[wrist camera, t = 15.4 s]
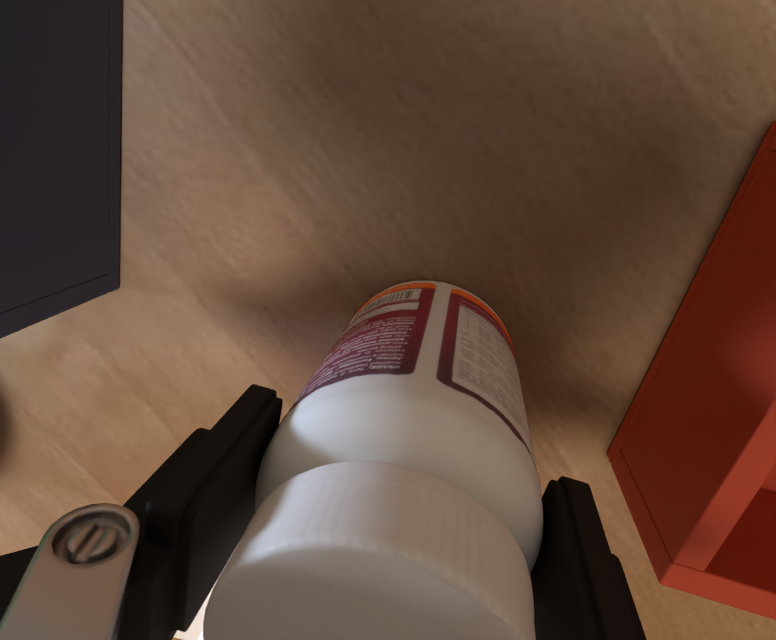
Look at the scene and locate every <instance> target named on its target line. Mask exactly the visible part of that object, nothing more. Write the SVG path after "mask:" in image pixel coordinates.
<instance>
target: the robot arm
mask: <svg viewBox="0 0 776 640" xmlns="http://www.w3.org/2000/svg"><path fill="white" fill-rule="evenodd" d="M276 395H277V394H276V391H275V390H272V389H269V388H265V387H262V386H259V385H255V384H252V385H251V386H250V387H249V388H248V389H247V390H246V391H245V392H244V394H243V395H242V396H241V397H240V398H239V399H238V400H237V401H236V402H235V403H234V405H233V406H232V407H231V408H230V409H229V410H228V411H227V412H226V413H225V414H224V416H223V417H222V418H221V419H220V420H219V421H218V422H217V423H216V424H215V425H214V427H213V428H212V429H211V430H208V429H204V428H198V429H197V430H195V431H194V432H193V433H192V434H191V435H190V436H189V437H188V438H187V439H186V440H185V441H184V442H183V443H182V445H181V446H180V447H179V448H178V449H177V450H176V451H175V452H174V453H173V454H172V455H171V456H170V457H169V458H168V459H167V460H166V461H165V462H164V463H163V464H162V465H161V466H160V467H159V468H158V470H157V471H156V472H155V473H154V474H153V475H152V476H151V477H150V478H149V479H148V480H147V481H146V482H145V483H144V484H143V485H142V486H141V487H140V488H139V489H138V490H137V491H136V492H135V494H134V495H133V496H132V497H131V498H130V499H129V500H128V501H127V502H126V503H125V504H124V505H123V506H120V505H117V504H109V503H101V504H91V505H87V506H84V507H81V508H77V509H75V510H73V511H71V512H69V513H67V514H65V515H63V516H62V517H61V518H59V519H58V520H57V521H56V522H54V523H53V524H52V525H51V526H50V527H49V529H48V530H47V532H46V533H45V534H44V536H43V538H42V540H41V542H40V544H39V546H35V547H31V548H28V549H24V550H20V551H17V552H13V553H9V554H6V555H2V556H0V640H172V639H173V637H174V635H175V634H176V632H177V630H179V631H182V632H186V631H187V630H188V628H189V627H190V625H191V624H192V622H193V620H194V619H195V617H196V615H197V613H198V612H199V610H200V608H201V607H202V605H203V603H204V602H205V600H206V598H207V596H208V595H209V593H210V591H211V590H212V588H213V586H214V584H215V583H216V581H217V579H218V578H219V576H220V574H221V572H222V571H223V569H224V567H225V566H226V564H227V562H228V561H229V559H230V557H231V555H232V554H233V552H234V550H235V549H236V547H237V545H238V543H239V542H240V540H241V538H242V536H243V534H244V532H245V530H246V528H247V526H248V524H249V523H250V521H251V519H252V518H253V516H254V515H255V513H256V508H255V488H256V481H257V476H258V471H259V468H260V464H261V461H262V458H263V456H264V453H265V451H266V449H267V447H268V445H269V443H270V441H271V439H272V437H273V435H274V432H275V431H276V430H277V428H278V426H279V421H280V416H281V410H282V403H283V401H282V399H280V398H277V397H276ZM542 505H543V535H542V541H541V547H540V551H539V554H538V557H537V560H536V563H535V565H534V567H533V569H532V571H531V573H530V578H531V584H532V592H533V601H534V626H535V636H536V640H646V637H645V634H644V631H643V628H642V625H641V622H640V619H639V616H638V613H637V610H636V607H635V604H634V601H633V598H632V595H631V592H630V589H629V586H628V583H627V580H626V577H625V574H624V571H623V568H622V565H621V563H620V561H619V559H618V558H617V557H616V556H615V555H614V554H611V551H610V548H609V545H608V542H607V539H606V536H605V533H604V530H603V526H602V523H601V520H600V517H599V514H598V511H597V508H596V504H595V501H594V498H593V495H592V492H591V489H590V486H589V485H588V484H587V483H584V482H581V481H578V480H574V479H571V478H568V477H564V476H562V477H560V478H559V479H558V481H555V480H551V481H550V482H549V484H548V486H547V488H546V490H545V492H544V494H543V497H542Z"/></svg>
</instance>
